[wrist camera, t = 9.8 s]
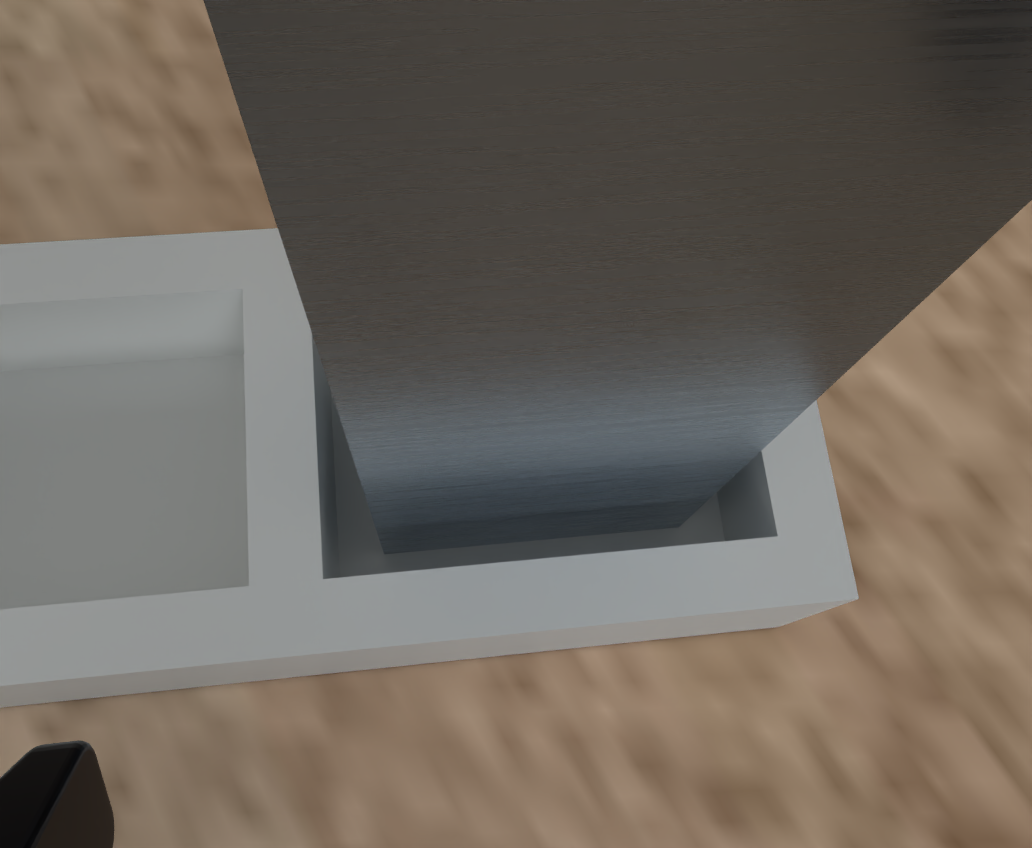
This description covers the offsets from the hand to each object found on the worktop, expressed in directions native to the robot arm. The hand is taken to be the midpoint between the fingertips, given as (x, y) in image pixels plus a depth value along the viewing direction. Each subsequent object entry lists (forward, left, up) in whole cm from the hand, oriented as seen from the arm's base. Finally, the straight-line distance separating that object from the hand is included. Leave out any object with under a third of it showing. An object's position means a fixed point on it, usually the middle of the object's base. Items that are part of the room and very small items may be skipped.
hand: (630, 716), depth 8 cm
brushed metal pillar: (+4, -2, -7) cm, 9 cm away
